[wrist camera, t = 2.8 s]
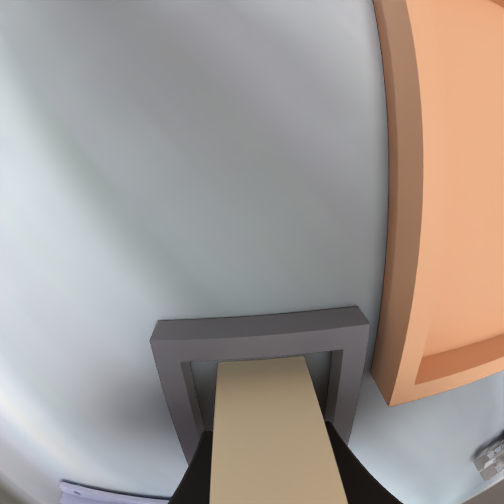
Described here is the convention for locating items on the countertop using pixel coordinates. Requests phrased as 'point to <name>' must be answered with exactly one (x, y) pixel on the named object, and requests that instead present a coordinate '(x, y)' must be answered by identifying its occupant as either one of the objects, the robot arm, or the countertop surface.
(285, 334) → the socket
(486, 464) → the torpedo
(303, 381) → the tan rectangular block
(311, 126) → the countertop surface
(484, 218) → the parts tray
